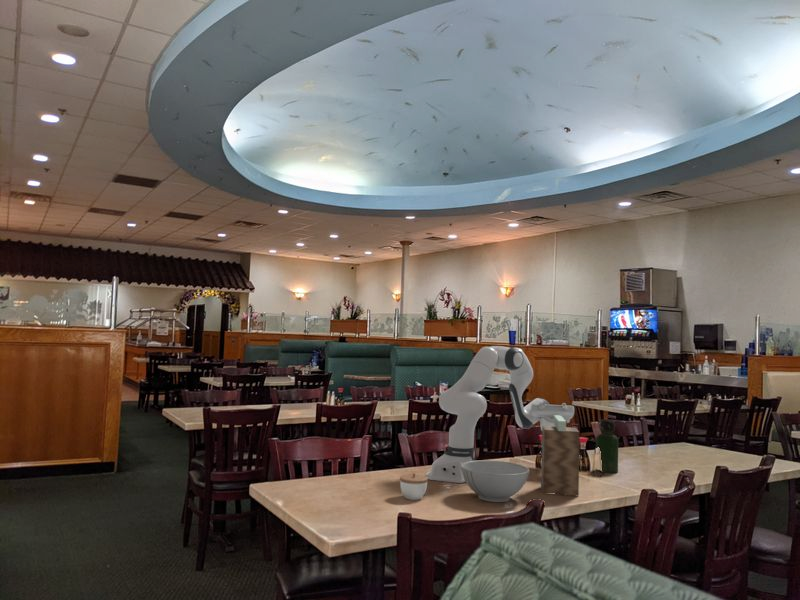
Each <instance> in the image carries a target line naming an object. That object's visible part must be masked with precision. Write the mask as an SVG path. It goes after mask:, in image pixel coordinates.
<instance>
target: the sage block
mask: <svg viewBox="0 0 800 600" xmlns="http://www.w3.org/2000/svg"><path fill="white" fill-rule="evenodd" d="M554 425H555V427H556V428H557V430H558V431H566V427H567V423H566V421H565V420H564V419H563V417H562V416H561V415H554Z"/></svg>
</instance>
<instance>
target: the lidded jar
mask: <svg viewBox="0 0 800 600" xmlns="http://www.w3.org/2000/svg"><path fill="white" fill-rule="evenodd" d="M399 480H400V482H399V485H400V491H401V493H402V496H404V497H405V499H406V500H410V501H417V500H421V499H422V497H424V496H425V494H426V491H427V487H428V480H429V479H428V478H427V477H426V475H420V474H416V473H415V472H413V473H412V474H403V475H401V476H400V477H399Z"/></svg>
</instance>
